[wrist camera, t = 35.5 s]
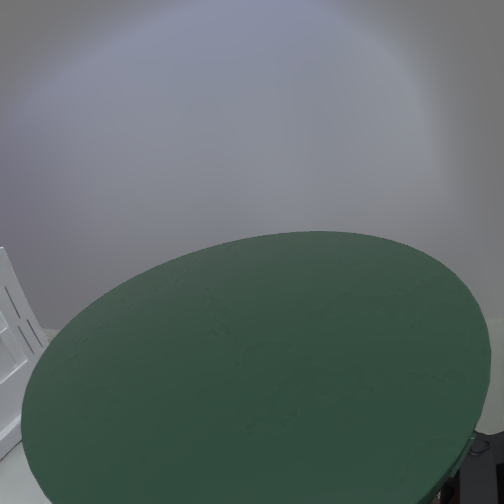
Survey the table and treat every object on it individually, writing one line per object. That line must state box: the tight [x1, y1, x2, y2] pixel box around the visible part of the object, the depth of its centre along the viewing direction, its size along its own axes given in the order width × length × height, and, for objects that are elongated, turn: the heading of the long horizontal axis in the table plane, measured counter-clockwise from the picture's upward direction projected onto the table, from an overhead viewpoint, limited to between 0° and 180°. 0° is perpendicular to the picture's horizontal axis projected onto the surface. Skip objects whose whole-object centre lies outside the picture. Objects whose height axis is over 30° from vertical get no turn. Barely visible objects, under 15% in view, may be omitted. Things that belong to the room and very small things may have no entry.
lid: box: [20, 231, 491, 504], centre depth 7 cm, size 10×10×2 cm
